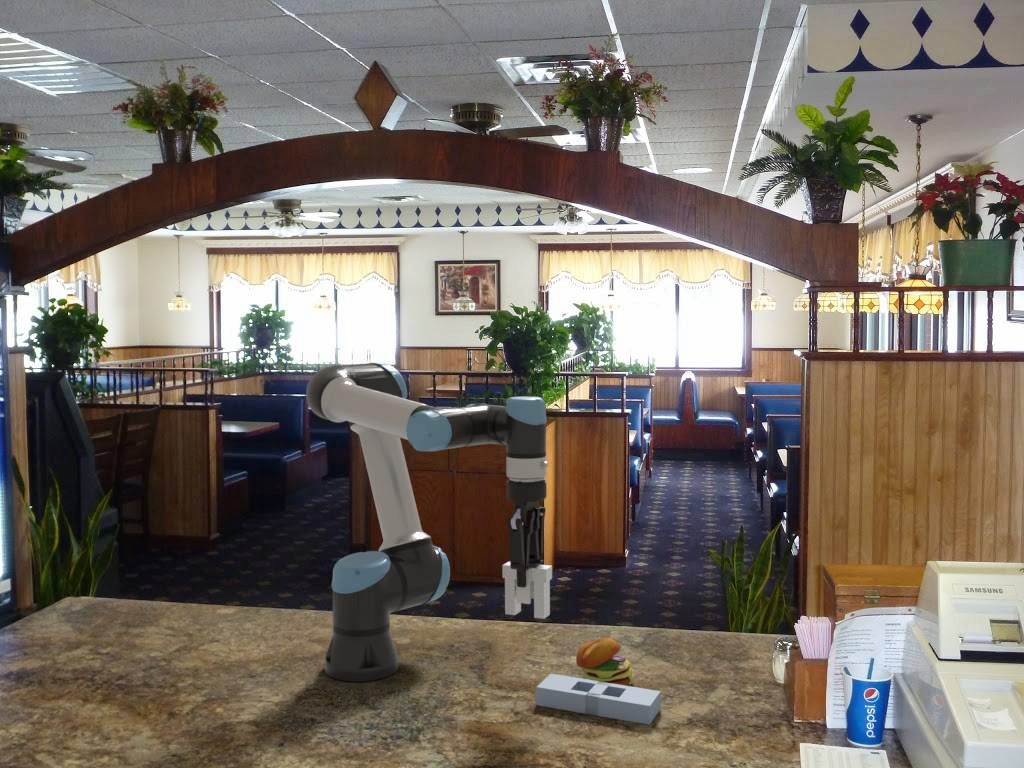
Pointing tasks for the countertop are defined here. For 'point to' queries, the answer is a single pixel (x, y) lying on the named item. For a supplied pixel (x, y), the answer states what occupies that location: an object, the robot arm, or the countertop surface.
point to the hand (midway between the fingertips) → (527, 600)
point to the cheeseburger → (604, 662)
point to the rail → (599, 698)
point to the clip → (541, 589)
